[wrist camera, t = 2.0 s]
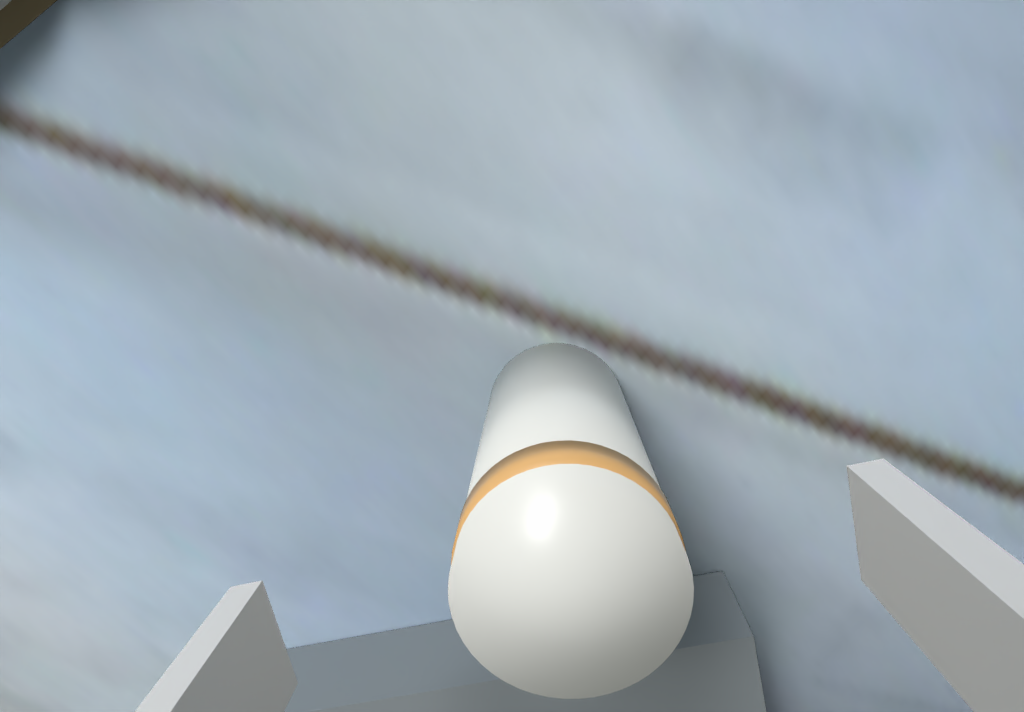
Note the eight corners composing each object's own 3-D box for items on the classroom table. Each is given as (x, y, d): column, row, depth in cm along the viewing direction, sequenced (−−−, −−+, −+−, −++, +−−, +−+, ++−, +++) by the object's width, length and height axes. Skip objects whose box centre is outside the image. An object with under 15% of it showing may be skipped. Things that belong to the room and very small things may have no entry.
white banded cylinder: (610, 328, 25) (673, 456, 13) (636, 456, 26) (714, 679, 14) (473, 357, 25) (417, 506, 14) (505, 482, 26) (478, 718, 15)
